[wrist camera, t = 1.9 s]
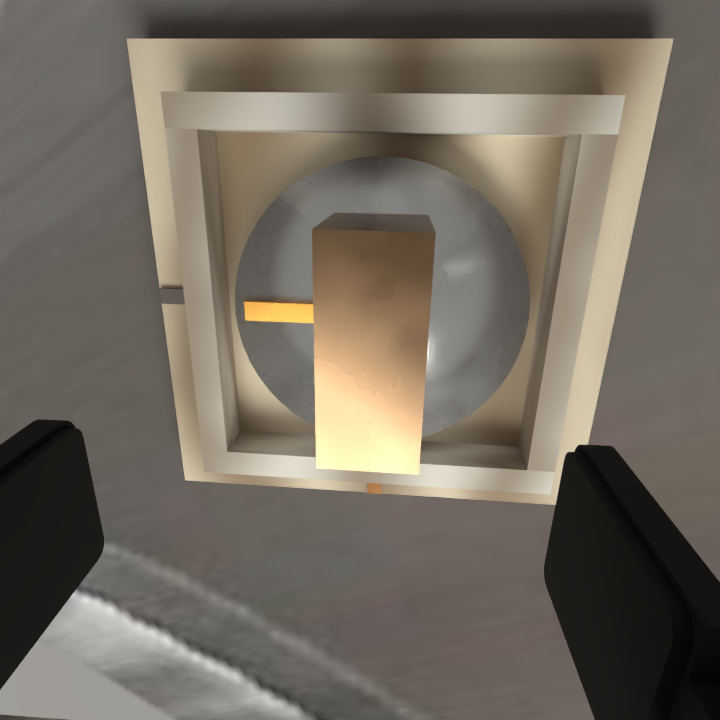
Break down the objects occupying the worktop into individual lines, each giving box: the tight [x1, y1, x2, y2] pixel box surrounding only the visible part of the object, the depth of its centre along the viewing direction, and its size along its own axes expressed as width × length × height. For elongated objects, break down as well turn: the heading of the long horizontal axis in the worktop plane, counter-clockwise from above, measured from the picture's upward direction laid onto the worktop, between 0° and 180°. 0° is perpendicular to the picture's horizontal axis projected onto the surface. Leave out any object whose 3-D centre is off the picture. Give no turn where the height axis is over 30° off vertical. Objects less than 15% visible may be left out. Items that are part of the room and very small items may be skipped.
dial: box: [235, 156, 530, 475], centre depth 19 cm, size 12×12×7 cm
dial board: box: [127, 39, 673, 505], centre depth 22 cm, size 20×20×4 cm
